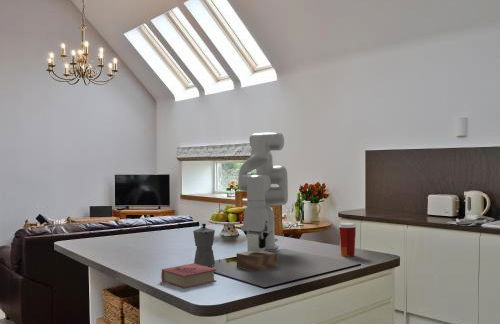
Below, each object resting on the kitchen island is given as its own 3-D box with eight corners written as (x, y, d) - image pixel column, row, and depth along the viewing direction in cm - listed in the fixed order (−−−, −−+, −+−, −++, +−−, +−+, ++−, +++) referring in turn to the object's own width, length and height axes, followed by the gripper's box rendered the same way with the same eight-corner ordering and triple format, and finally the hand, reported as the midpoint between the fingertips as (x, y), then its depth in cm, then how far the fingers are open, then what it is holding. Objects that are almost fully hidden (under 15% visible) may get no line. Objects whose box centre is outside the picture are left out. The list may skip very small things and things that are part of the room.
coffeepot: (217, 267, 196) (217, 224, 196) (195, 269, 193) (194, 225, 194) (212, 260, 211) (211, 220, 211) (191, 261, 208) (191, 221, 209)
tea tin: (254, 248, 200) (254, 230, 200) (265, 250, 197) (265, 231, 197) (247, 250, 196) (247, 231, 196) (258, 252, 193) (258, 232, 193)
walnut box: (256, 263, 205) (256, 249, 205) (276, 267, 196) (276, 253, 196) (236, 267, 197) (236, 253, 197) (256, 272, 188) (256, 257, 188)
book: (191, 275, 184) (191, 263, 184) (216, 282, 173) (216, 268, 173) (160, 282, 174) (160, 268, 174) (184, 289, 163) (184, 275, 163)
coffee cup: (357, 254, 221) (357, 222, 221) (355, 257, 213) (355, 224, 213) (339, 253, 224) (339, 222, 224) (337, 256, 216) (336, 224, 216)
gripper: (234, 204, 198) (234, 246, 198) (268, 206, 189) (269, 250, 189) (244, 203, 205) (244, 244, 205) (278, 204, 195) (278, 247, 195)
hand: (256, 246), depth 197 cm, fingers closed on tea tin, 5 cm apart
